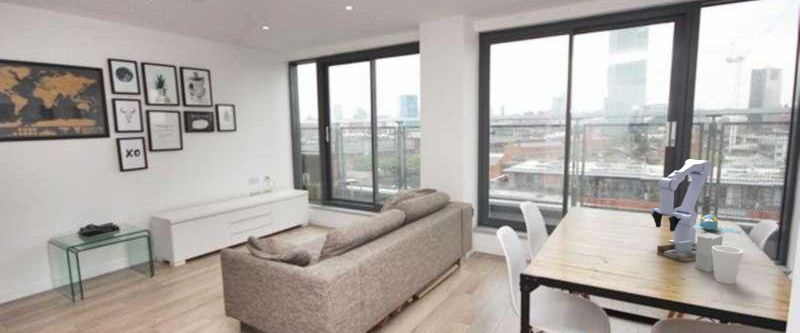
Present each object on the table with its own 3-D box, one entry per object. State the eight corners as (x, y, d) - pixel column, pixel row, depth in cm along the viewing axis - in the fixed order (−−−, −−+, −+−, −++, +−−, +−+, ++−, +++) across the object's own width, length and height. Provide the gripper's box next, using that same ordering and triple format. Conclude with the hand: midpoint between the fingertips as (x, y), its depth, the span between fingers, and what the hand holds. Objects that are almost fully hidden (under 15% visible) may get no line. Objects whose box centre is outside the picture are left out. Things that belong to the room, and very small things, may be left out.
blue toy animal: (741, 215, 221) (742, 222, 210) (740, 230, 222) (741, 237, 211) (680, 209, 239) (678, 215, 227) (680, 223, 240) (677, 229, 229)
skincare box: (705, 264, 174) (707, 232, 172) (721, 269, 169) (723, 235, 167) (694, 268, 171) (696, 235, 169) (710, 273, 165) (712, 238, 163)
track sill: (683, 249, 194) (684, 241, 194) (711, 257, 182) (711, 249, 181) (657, 253, 189) (657, 245, 189) (683, 262, 177) (683, 254, 177)
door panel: (687, 252, 187) (688, 240, 187) (691, 253, 186) (692, 241, 185) (674, 254, 185) (675, 242, 184) (678, 255, 183) (679, 243, 183)
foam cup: (703, 276, 162) (706, 246, 160) (724, 275, 163) (727, 244, 161) (724, 286, 153) (727, 254, 151) (746, 284, 153) (749, 252, 152)
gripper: (647, 200, 201) (646, 226, 202) (674, 206, 187) (672, 233, 188) (658, 199, 203) (656, 224, 204) (685, 204, 189) (683, 232, 190)
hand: (665, 229), depth 197 cm, fingers open, 7 cm apart
